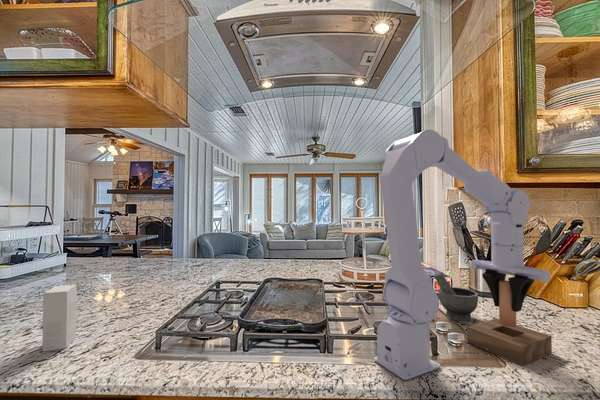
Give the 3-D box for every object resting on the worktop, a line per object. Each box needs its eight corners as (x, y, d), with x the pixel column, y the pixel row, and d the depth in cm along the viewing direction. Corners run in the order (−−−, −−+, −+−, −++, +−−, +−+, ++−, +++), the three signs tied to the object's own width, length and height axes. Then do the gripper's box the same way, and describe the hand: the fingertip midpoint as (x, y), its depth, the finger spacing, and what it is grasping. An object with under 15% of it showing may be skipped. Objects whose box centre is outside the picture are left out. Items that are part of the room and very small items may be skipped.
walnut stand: (523, 366, 57) (522, 347, 57) (467, 342, 66) (467, 326, 67) (551, 353, 62) (551, 336, 62) (496, 333, 72) (495, 318, 72)
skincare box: (53, 340, 66) (54, 285, 67) (76, 337, 68) (77, 284, 68) (40, 352, 61) (42, 293, 61) (66, 349, 62) (67, 291, 63)
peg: (511, 327, 62) (510, 284, 63) (496, 322, 65) (495, 281, 65) (519, 325, 64) (518, 282, 64) (504, 320, 66) (504, 279, 67)
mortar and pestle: (472, 312, 86) (472, 270, 86) (484, 325, 77) (484, 277, 77) (430, 309, 88) (430, 268, 89) (437, 320, 79) (436, 275, 80)
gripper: (557, 247, 60) (558, 316, 60) (484, 240, 73) (484, 296, 73) (539, 249, 57) (540, 322, 57) (465, 241, 70) (466, 300, 69)
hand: (507, 308), depth 64 cm, fingers closed on peg, 3 cm apart
